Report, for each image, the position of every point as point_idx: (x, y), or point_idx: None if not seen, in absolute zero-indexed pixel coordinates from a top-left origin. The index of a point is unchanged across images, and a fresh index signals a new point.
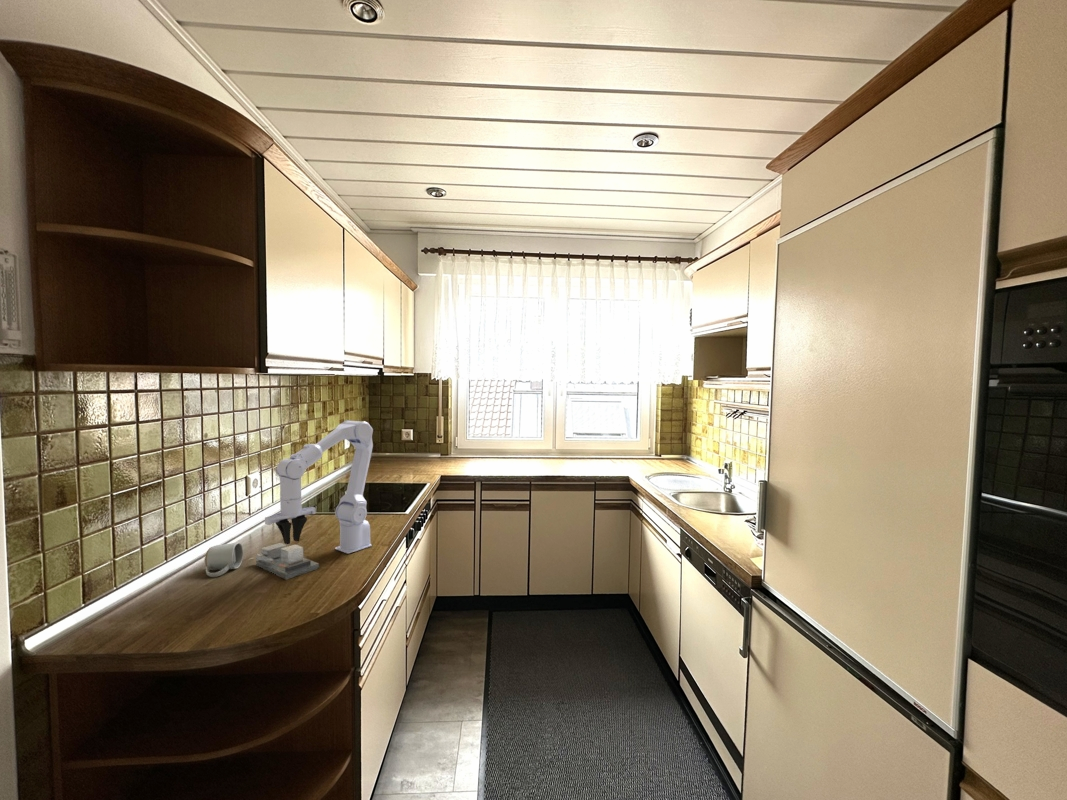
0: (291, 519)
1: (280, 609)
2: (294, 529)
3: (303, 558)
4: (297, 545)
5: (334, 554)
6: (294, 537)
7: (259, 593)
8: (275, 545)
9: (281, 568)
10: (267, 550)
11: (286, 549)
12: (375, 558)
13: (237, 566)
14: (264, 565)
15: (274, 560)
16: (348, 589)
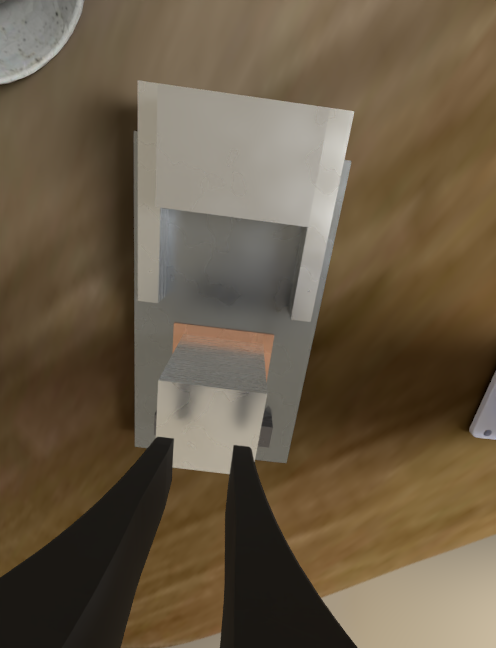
0: (233, 646)
1: None
2: (231, 544)
3: (300, 355)
4: (257, 424)
5: (447, 378)
6: (230, 478)
7: (22, 448)
8: (259, 142)
9: (159, 374)
10: (157, 202)
11: (170, 426)
12: (454, 539)
13: (53, 37)
14: (136, 246)
15: (202, 237)
16: (212, 615)
